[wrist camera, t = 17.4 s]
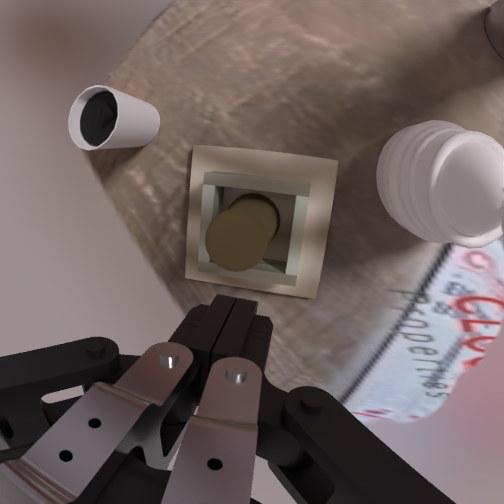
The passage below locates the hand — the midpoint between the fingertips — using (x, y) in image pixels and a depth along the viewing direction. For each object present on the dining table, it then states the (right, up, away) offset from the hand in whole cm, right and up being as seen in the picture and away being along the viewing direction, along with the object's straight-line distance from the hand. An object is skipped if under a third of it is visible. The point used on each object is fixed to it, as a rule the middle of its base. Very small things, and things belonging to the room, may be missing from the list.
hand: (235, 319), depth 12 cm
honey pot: (+21, +11, +20) cm, 31 cm away
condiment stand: (+1, +6, +24) cm, 25 cm away
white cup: (-13, +18, +23) cm, 33 cm away
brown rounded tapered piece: (+1, +6, +23) cm, 24 cm away
